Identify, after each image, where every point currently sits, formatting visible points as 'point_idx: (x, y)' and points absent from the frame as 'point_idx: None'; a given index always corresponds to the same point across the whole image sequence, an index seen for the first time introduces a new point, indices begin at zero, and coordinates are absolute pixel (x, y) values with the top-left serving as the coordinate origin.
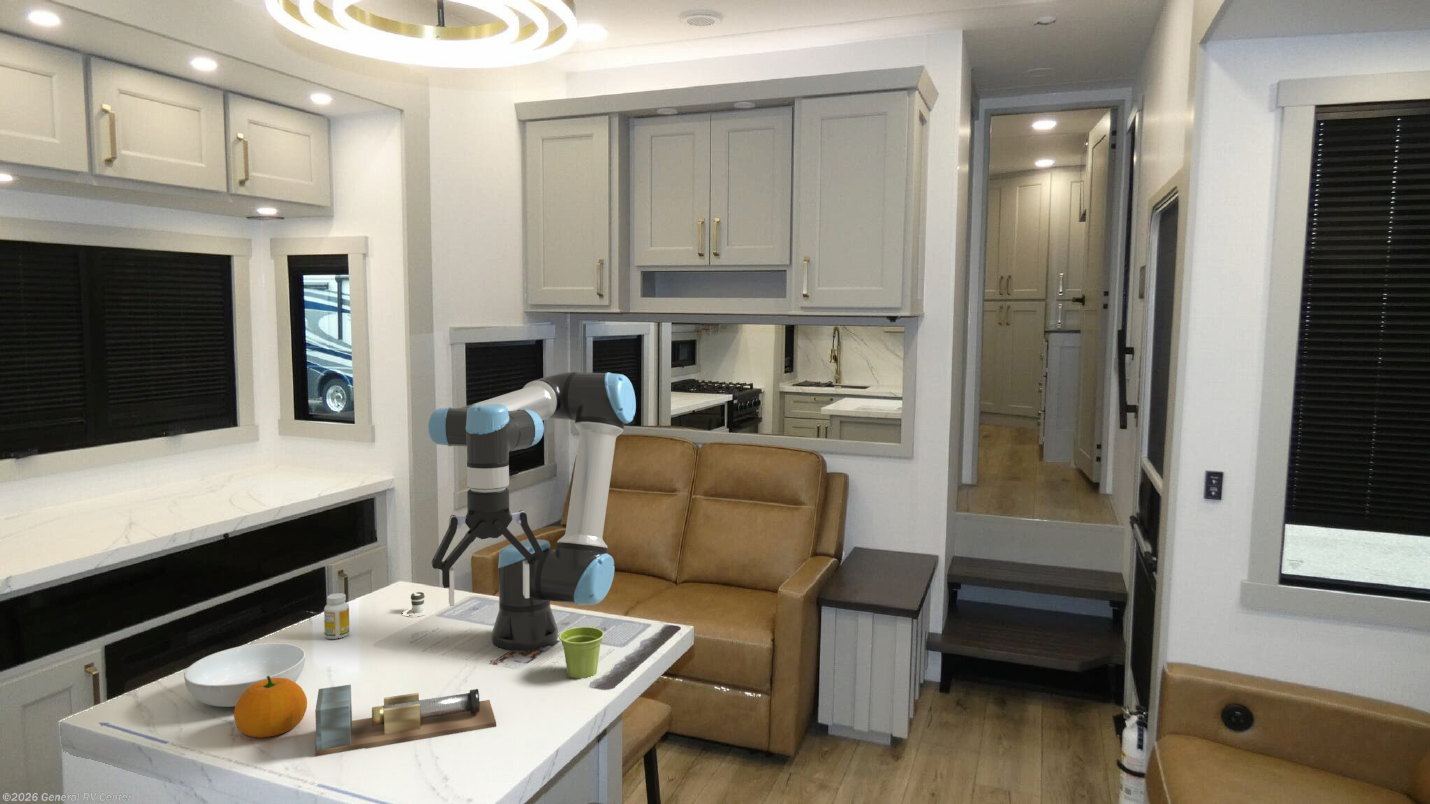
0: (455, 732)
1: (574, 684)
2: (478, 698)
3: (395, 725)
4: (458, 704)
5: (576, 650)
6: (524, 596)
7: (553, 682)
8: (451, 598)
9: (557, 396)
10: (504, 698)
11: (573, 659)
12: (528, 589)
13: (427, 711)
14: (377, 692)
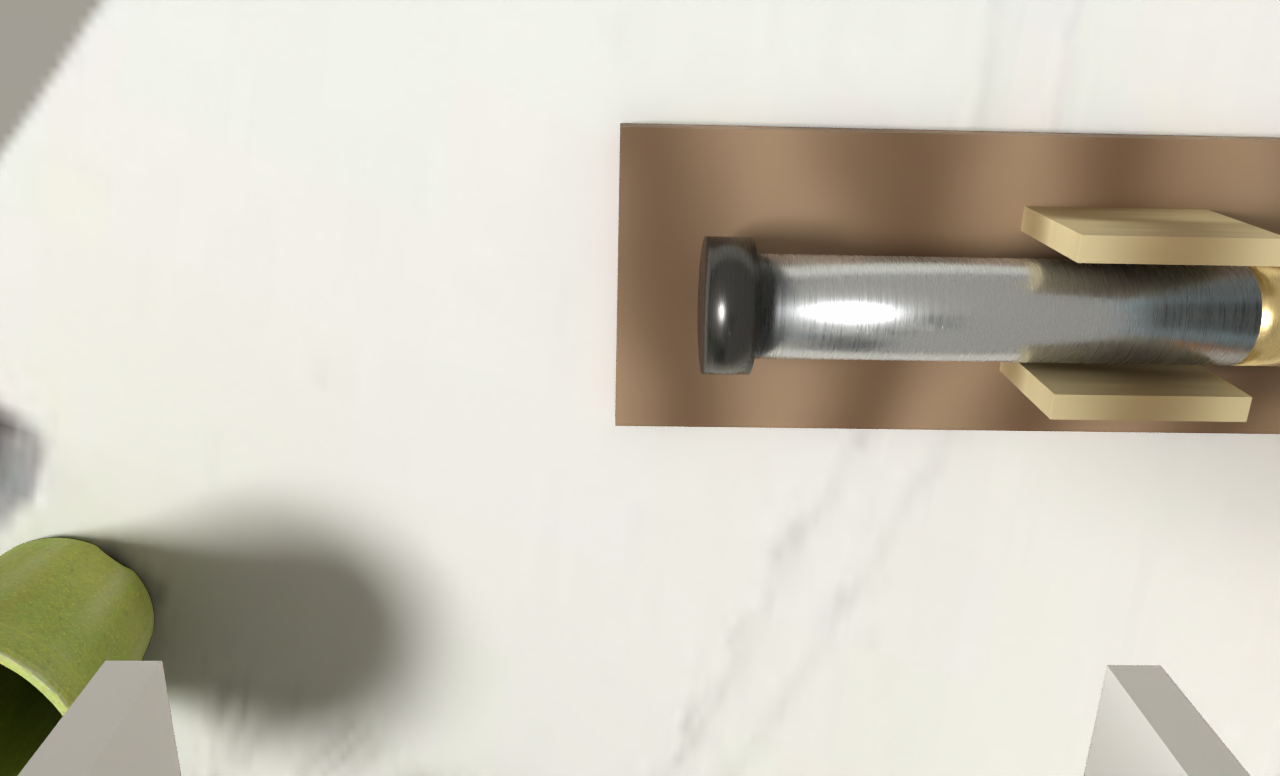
0: (846, 129)
1: (127, 498)
2: (714, 259)
3: (1174, 216)
4: (831, 262)
5: (12, 628)
6: (171, 728)
7: (243, 560)
8: (1198, 735)
9: None
10: (527, 462)
11: (67, 612)
12: (55, 743)
13: (1006, 261)
14: None
